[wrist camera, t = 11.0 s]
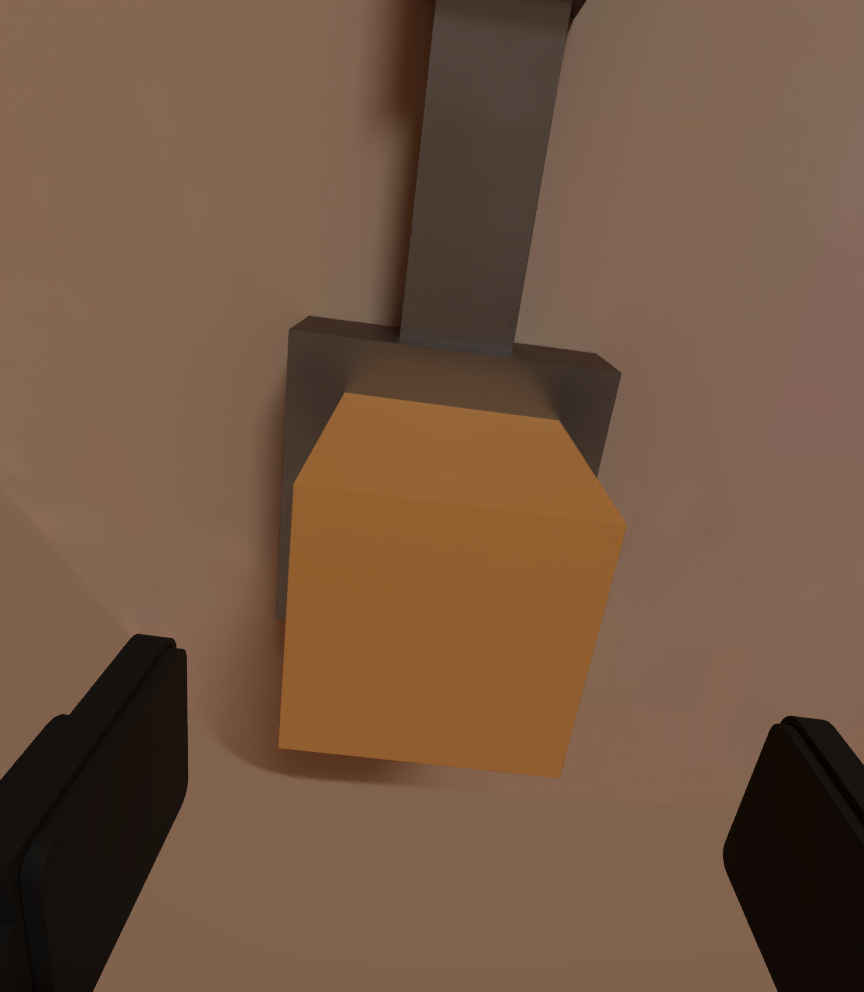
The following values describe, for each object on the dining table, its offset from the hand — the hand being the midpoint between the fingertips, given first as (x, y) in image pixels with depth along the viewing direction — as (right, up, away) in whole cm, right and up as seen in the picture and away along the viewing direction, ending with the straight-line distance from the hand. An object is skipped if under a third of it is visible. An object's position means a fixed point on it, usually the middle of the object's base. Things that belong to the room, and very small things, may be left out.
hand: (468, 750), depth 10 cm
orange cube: (0, +4, +9) cm, 10 cm away
